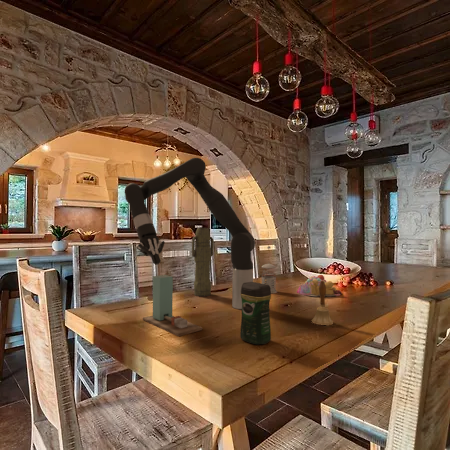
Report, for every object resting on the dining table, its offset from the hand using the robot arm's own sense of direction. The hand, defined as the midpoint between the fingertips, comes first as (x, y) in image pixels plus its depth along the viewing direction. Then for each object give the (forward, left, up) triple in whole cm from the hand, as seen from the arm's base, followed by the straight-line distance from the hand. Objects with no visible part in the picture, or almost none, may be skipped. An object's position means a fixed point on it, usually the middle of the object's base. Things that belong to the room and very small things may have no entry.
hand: (157, 263), depth 132 cm
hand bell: (-65, -4, -21) cm, 69 cm away
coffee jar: (-42, +20, -21) cm, 51 cm away
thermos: (-8, -40, -21) cm, 46 cm away
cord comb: (-10, +11, -21) cm, 26 cm away
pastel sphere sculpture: (-68, -59, -21) cm, 93 cm away
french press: (-41, -55, -21) cm, 72 cm away
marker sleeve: (-6, +8, -19) cm, 22 cm away
